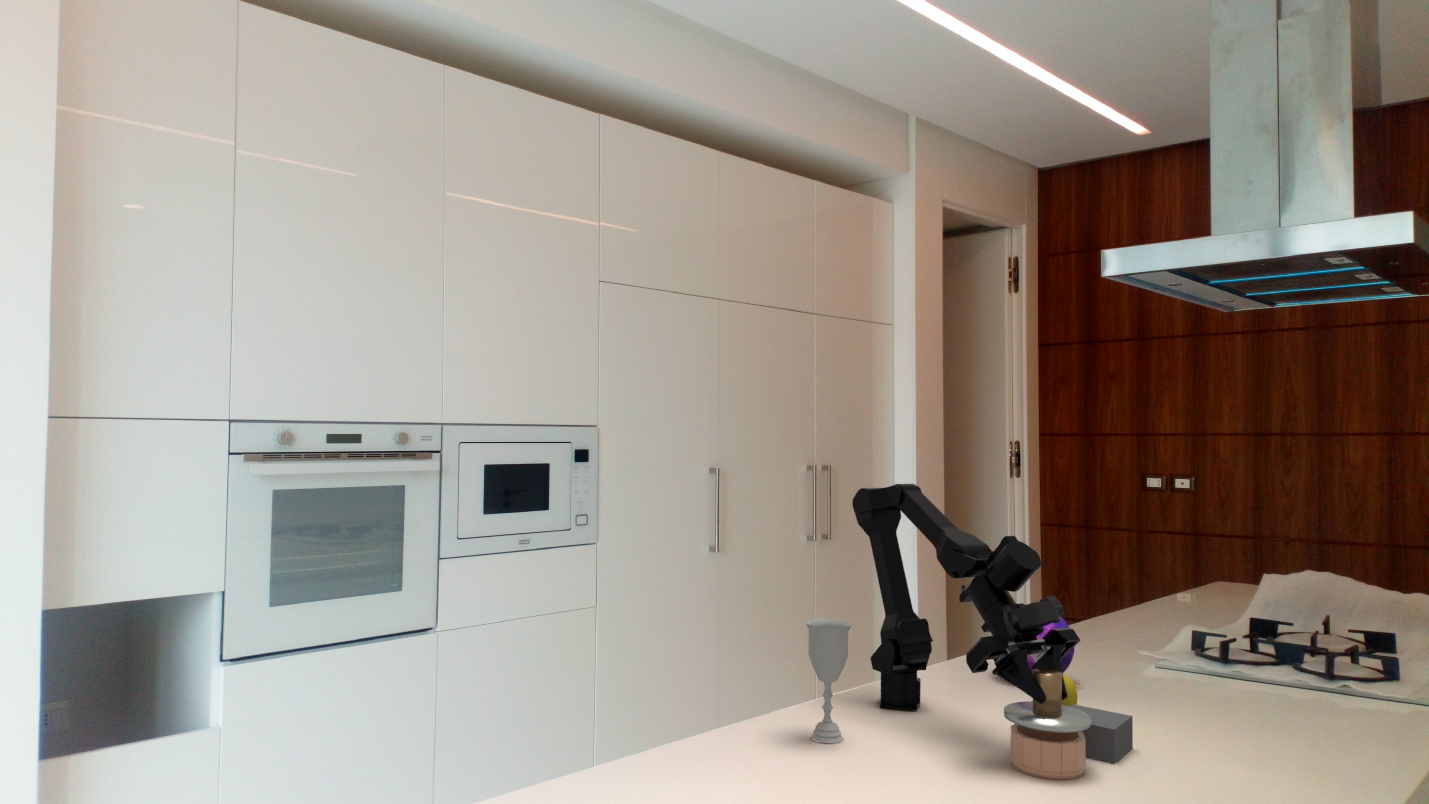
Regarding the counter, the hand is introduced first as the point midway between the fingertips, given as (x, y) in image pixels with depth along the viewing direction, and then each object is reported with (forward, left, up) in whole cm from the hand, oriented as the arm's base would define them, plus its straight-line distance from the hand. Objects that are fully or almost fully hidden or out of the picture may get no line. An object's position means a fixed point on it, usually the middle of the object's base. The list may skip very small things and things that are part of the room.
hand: (1054, 700), depth 131 cm
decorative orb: (+2, +51, -10) cm, 52 cm away
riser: (+7, +11, -10) cm, 16 cm away
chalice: (-33, +4, -10) cm, 35 cm away
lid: (-1, +1, -3) cm, 3 cm away
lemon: (+4, +26, -10) cm, 28 cm away
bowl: (-1, +1, -10) cm, 10 cm away
